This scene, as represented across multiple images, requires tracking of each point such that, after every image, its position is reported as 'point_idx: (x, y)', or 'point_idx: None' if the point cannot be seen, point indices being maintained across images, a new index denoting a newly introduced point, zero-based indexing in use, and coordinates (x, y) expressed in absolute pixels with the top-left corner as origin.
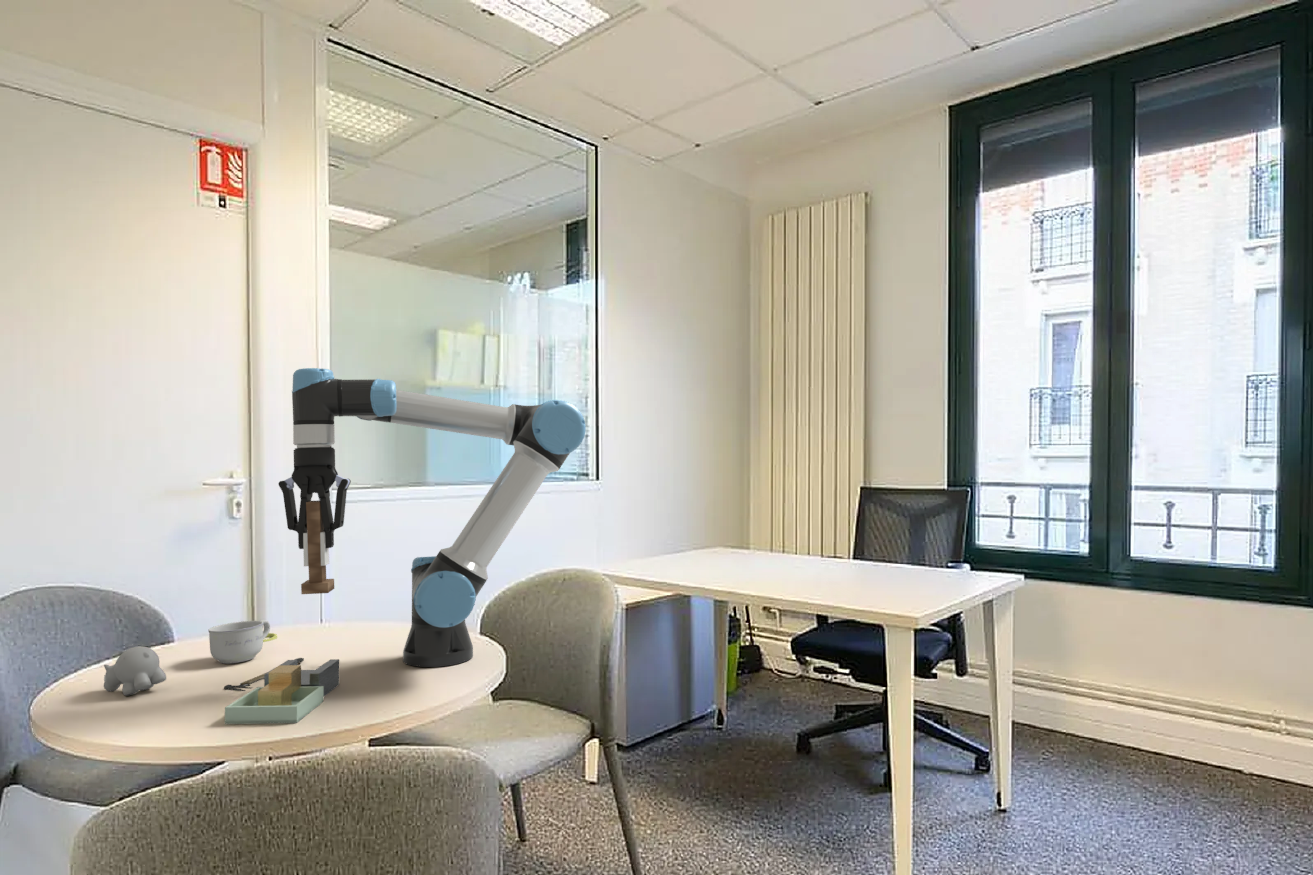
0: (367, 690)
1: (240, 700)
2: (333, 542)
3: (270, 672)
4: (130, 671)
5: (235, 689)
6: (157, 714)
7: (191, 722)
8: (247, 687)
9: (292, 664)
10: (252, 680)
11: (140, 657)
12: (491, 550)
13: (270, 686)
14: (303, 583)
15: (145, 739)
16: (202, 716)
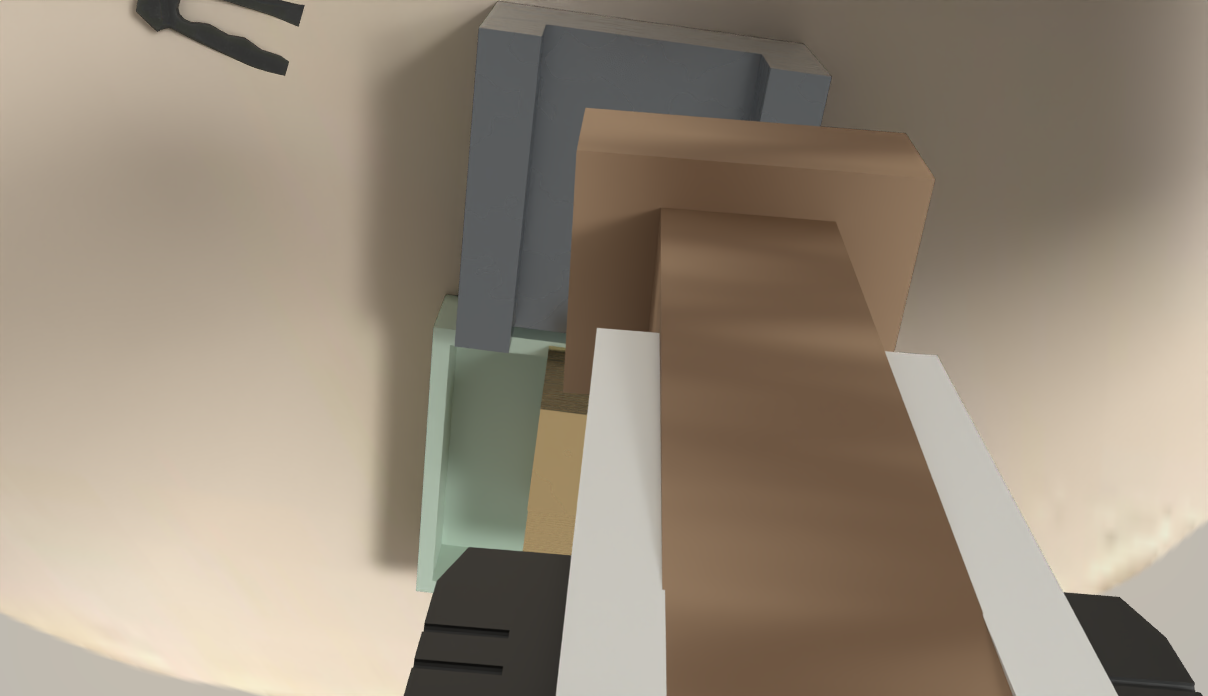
0: (974, 187)
1: (438, 506)
2: (1178, 689)
3: (535, 507)
4: None
5: (223, 52)
6: (60, 383)
7: (278, 503)
8: (271, 10)
9: (534, 107)
10: None
11: None
12: None
13: (557, 516)
14: (579, 360)
15: (212, 640)
16: (283, 441)
